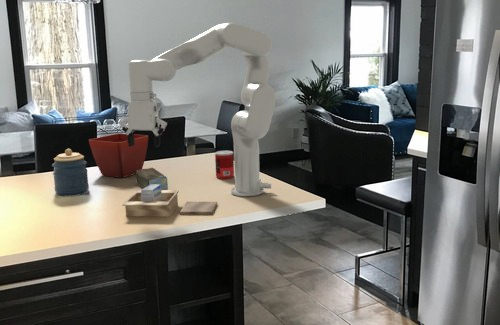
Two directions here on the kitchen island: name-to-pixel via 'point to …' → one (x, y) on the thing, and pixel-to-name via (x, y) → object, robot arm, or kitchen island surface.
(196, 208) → the walnut board
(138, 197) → the wooden tray
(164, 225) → the kitchen island surface
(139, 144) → the plant pot
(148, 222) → the kitchen island surface
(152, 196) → the medicine box
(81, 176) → the canister
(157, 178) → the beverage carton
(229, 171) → the canned food
